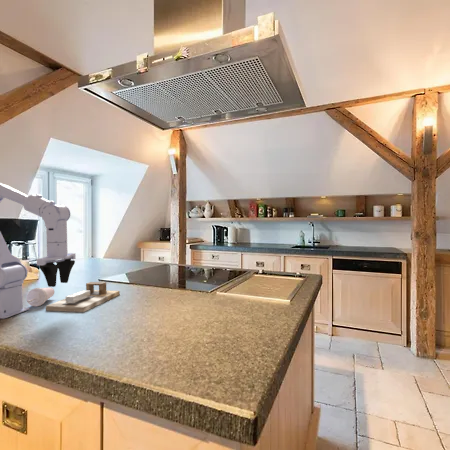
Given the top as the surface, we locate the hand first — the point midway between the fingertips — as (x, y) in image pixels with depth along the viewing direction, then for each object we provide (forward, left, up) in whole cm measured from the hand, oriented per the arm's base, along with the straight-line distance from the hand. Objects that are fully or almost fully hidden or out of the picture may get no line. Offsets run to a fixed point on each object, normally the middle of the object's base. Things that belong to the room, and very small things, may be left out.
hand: (58, 284), depth 94 cm
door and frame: (+14, 0, -9) cm, 16 cm away
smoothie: (+16, +17, -7) cm, 24 cm away
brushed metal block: (+9, 0, -7) cm, 12 cm away
